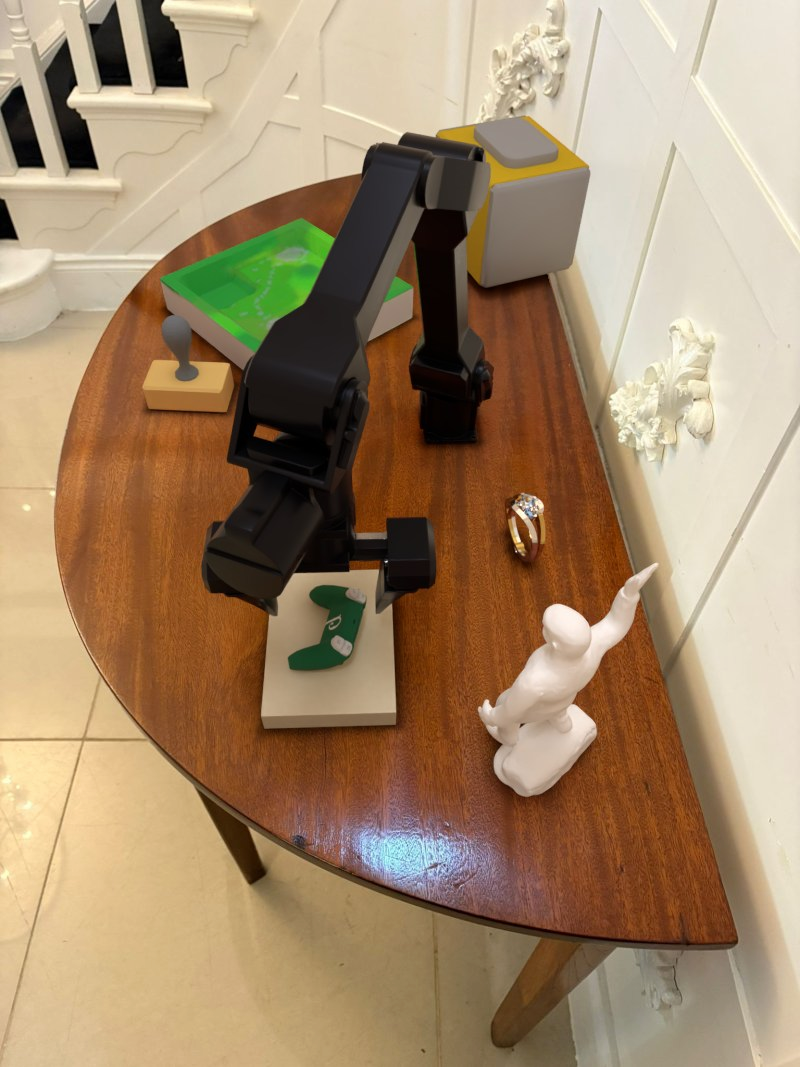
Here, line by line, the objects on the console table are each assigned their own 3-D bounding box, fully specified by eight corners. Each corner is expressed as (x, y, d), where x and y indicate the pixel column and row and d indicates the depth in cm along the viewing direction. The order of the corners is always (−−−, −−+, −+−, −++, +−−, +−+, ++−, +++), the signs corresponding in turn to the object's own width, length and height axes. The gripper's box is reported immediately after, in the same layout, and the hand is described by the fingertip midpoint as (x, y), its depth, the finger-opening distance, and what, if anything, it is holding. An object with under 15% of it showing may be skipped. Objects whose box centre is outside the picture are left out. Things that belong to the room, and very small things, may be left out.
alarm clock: (575, 280, 118) (600, 157, 104) (481, 302, 114) (495, 178, 100) (514, 219, 129) (530, 101, 115) (428, 237, 125) (433, 117, 111)
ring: (543, 572, 82) (556, 523, 76) (515, 578, 82) (525, 529, 76) (521, 524, 87) (531, 474, 80) (493, 529, 86) (502, 479, 80)
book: (390, 581, 81) (390, 567, 79) (396, 725, 71) (396, 712, 69) (275, 584, 81) (272, 570, 79) (264, 728, 70) (260, 716, 68)
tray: (412, 317, 111) (413, 286, 107) (271, 393, 100) (267, 362, 96) (304, 247, 123) (301, 217, 119) (167, 309, 112) (159, 278, 108)
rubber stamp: (234, 384, 101) (219, 304, 92) (226, 414, 98) (209, 334, 88) (159, 381, 101) (136, 301, 92) (148, 410, 98) (123, 330, 88)
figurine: (570, 693, 73) (636, 521, 54) (612, 774, 68) (701, 615, 49) (452, 730, 71) (476, 562, 51) (487, 816, 66) (528, 666, 46)
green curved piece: (311, 686, 72) (354, 672, 69) (281, 666, 71) (323, 650, 67) (336, 606, 78) (377, 589, 74) (308, 586, 76) (349, 567, 73)
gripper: (431, 419, 64) (424, 540, 76) (203, 422, 63) (232, 543, 75) (441, 522, 57) (431, 637, 69) (183, 527, 56) (219, 642, 68)
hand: (326, 610), depth 70 cm, fingers open, 9 cm apart
